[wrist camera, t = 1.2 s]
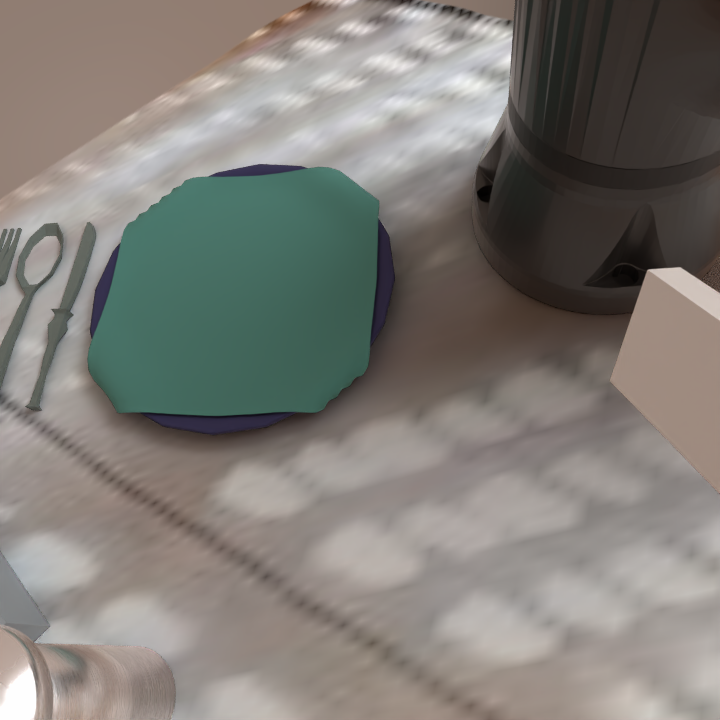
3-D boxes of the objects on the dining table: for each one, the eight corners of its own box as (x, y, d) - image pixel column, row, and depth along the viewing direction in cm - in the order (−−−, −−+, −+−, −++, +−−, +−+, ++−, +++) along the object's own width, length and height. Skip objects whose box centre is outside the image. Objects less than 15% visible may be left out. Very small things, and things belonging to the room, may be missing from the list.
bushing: (140, 606, 32) (-23, 582, 22) (212, 701, 30) (68, 728, 19) (45, 701, 31) (-178, 726, 20) (113, 809, 28) (-102, 903, 18)
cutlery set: (391, 446, 34) (386, 432, 32) (-70, 442, 40) (-100, 430, 38) (403, 172, 43) (400, 147, 41) (23, 200, 48) (3, 180, 46)
